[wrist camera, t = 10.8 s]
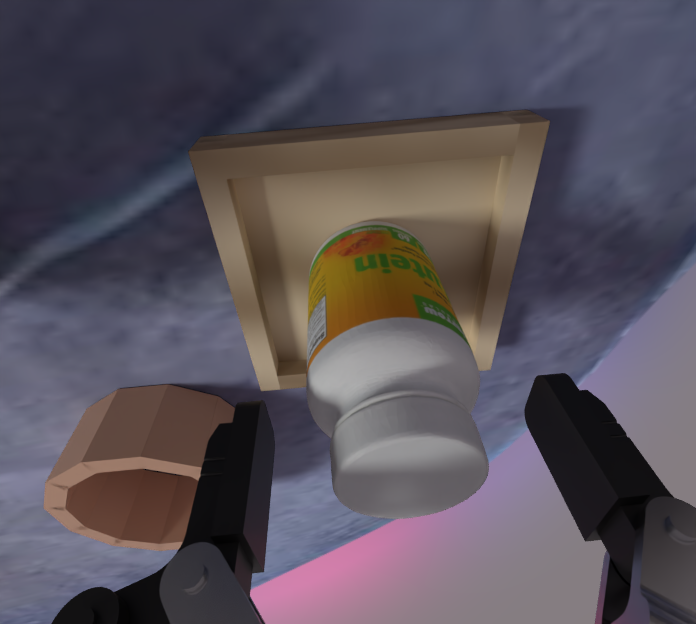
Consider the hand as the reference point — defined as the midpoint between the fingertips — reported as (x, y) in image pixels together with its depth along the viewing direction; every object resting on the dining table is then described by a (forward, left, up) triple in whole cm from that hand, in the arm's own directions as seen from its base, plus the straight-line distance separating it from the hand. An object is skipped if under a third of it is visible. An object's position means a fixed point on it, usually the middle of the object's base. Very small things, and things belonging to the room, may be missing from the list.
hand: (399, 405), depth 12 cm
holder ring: (+12, -13, -8) cm, 19 cm away
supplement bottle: (0, 0, -7) cm, 7 cm away
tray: (0, 0, -8) cm, 8 cm away
